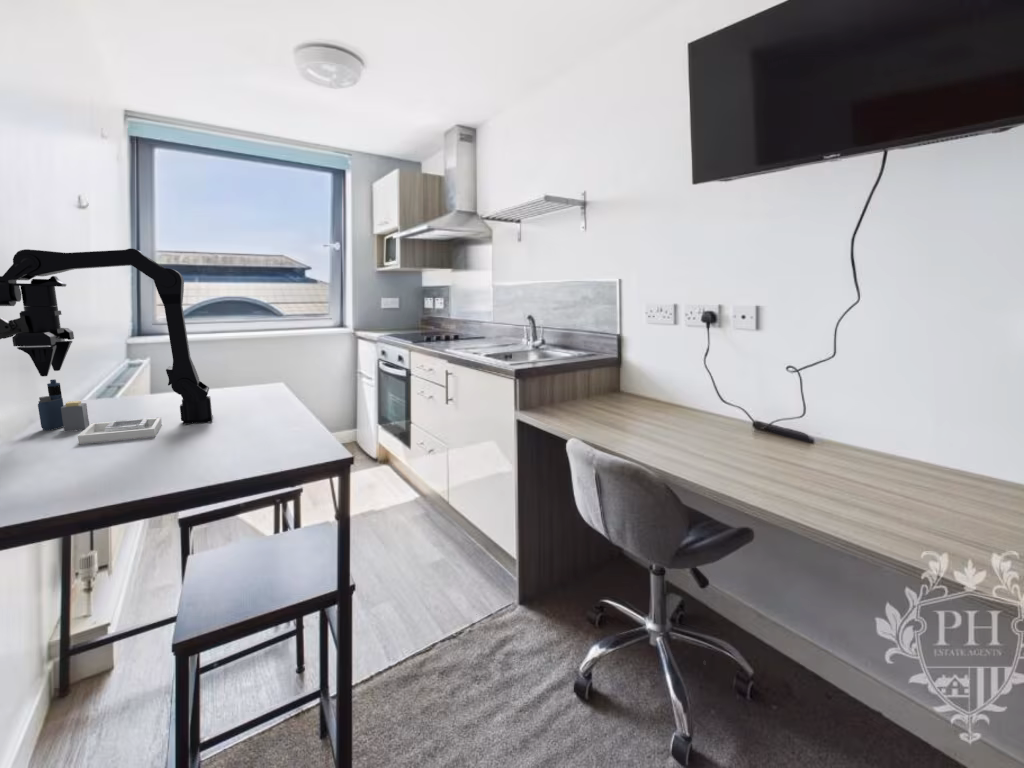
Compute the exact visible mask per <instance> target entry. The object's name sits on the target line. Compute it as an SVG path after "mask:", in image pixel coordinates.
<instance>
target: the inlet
mask: <svg viewBox="0 0 1024 768" xmlns="http://www.w3.org/2000/svg"><path fill="white" fill-rule="evenodd" d="M148 419H149V418H135V419H125V420H115V421H109V422H110V423H109V424H108V425H107V426H106V427H105V433H106V432H117V431H127V430H138V429H149V422H148Z"/></svg>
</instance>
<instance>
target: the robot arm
mask: <svg viewBox="0 0 1024 768" xmlns="http://www.w3.org/2000/svg"><path fill="white" fill-rule="evenodd" d="M128 266H129V267H130V266H131V267H134V268H135V269H136V270H138V271H140V272H141V273H142V274H144V275H145V276H147V277H149V279H152V280H153V283H154V286H155V288H156V291H157V293H158V296H159V298H160V300H161V302H162V304H163V306H164V313H165V318H166V325H167V326H166V327H167V332H168V337H169V342H170V348H171V349H170V351H171V355H172V356H171V357H172V366H167V368H166V369H165V372H166V375H167V378H168V383H167V386H171V389H172V390H173V393H174V392H175V393H176V394H177V395H180V396H181V398H182V399H181V404H180V406H179V412H180V419H181V422H182V424H183V425H191V424H202V423H203V424H204V423H211V422H212V423H213V419H214V414H213V410H212V401H211V400H212V399H211V398H212V397H211V395H210V396H208V395H209V391H210V387H209V386H208V385H206V384H205V383H203V382H202V381H201V380H200V377H199V374H198V372H197V370H196V366H195V365H194V362H193V360H192V357H191V353H190V347H189V346H190V345H189V340H188V334H187V326H186V322H185V321H186V319H185V315H184V314H185V313H184V308H183V303H184V301H183V300H184V290H185V289H184V288H185V279H184V276H183V274H181V273H180V272H179V271H177V270H175V269H172V268H167V267H164V266H163V265H161V264H159V263H158V262H156V261H154V260H153V259H151V258H149V257H148V256H147V255H145V254H144V253H143V252H142V251H140V250H138V249H136V248H127V249H117V250H115V249H114V250H99V251H97V250H96V251H95V250H94V251H93V250H92V251H77V252H76V251H75V252H60V251H51V250H39V249H29V248H27V249H21V250H18V251H17V252H16V253H15V254H14V255H13V258H12V264H11V266H10V267H9V268H8V269H7V270H6V271H5V273H4V274H3V275H0V307H14V306H16V304H17V302H19V303H21V300H22V305H23V310H21V311H20V312H19V317H18V318H15V319H11V320H7V319H6V318H4V317H0V340H2V339H3V340H4V339H8V338H12V340H11V341H12V344H13V347H16V349H17V350H19V351H22V352H24V353H25V354H27V355H29V358H30V359H31V361H32V362H33V365H34V366H35V368H36V370H37V372H38V374H39V376H40V377H48V375H49V373H50V370H51V367H52V369H53V371H54V372H58V371H61V368H62V366H63V364H64V361H65V359H66V356H67V354H68V352H69V349H70V347H71V346H72V344H73V340H74V339H75V335H74V331H73V330H71V328H68V327H62V326H61V321H60V316H61V315H63V314H62V310H59V308H58V301H57V293H56V287H57V288H58V287H62V288H63V287H64V288H65V287H66V286H67V283H65V282H64V281H62V280H61V279H59V278H58V276H57V274H60V273H64V272H68V271H73V270H81V269H82V270H83V269H97V268H111V267H112V268H113V267H114V268H115V267H116V268H117V267H128ZM54 275H55V276H54ZM47 276H50V277H49V278H36V277H47ZM29 280H30V283H24V282H23V283H21V282H20V283H17V281H29Z"/></svg>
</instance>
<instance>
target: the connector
mask: <svg viewBox="0 0 1024 768" xmlns="http://www.w3.org/2000/svg"><path fill="white" fill-rule="evenodd" d="M63 405H64V406H62V407H61V413H62V420H63V427H62V428H63V432H64V431H65V432H74V431H75V432H76V431H84V430H85V429H86V428H87V427H88V426H89V425H90V421H89V420H90V419H89V414H88V412H89V411H88V406H87V402H82V400H74V401H67V402H65V404H63Z"/></svg>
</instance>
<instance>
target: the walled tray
mask: <svg viewBox="0 0 1024 768" xmlns="http://www.w3.org/2000/svg"><path fill="white" fill-rule="evenodd" d="M147 419H148V422H149V429H138V430H127V431H117V432H106V433H105V427H106V426H107V425H108V424H109V423H110V422H111V421H107V422H105V421H104V422H94V423H89V426H88V427H87V428H86V429H85V430H82V431H81V432H80V433H79V434H78V435H77V438H78V439H77V440H78V441H77V442H78V445H86V444H87V445H89V444H96V443H97V444H98V443H107V442H116V441H117V442H119V441H128V440H138V439H146V438H147V439H149V438H155V437H156V436H157V434H158V433H159V431H160V429H161V428H162V426H163V424H162V423H163V422H162V417H153V418H152V417H151V418H147Z"/></svg>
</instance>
